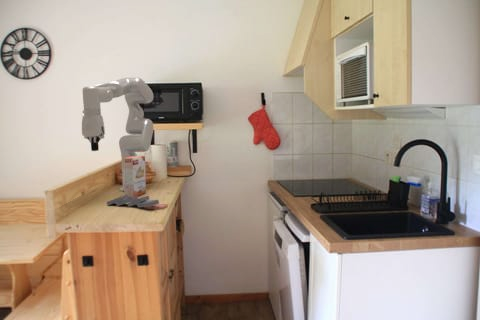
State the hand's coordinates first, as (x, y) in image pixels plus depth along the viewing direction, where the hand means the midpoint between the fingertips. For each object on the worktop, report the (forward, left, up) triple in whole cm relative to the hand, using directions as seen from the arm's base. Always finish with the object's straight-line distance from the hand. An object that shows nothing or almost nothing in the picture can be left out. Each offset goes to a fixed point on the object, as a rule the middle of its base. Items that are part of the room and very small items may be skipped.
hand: (95, 150), depth 178 cm
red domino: (+4, +30, -25) cm, 40 cm away
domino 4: (+5, +28, -24) cm, 37 cm away
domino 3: (+3, +22, -25) cm, 33 cm away
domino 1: (+3, +10, -25) cm, 27 cm away
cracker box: (-19, +9, -26) cm, 33 cm away
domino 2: (+3, +15, -25) cm, 29 cm away
